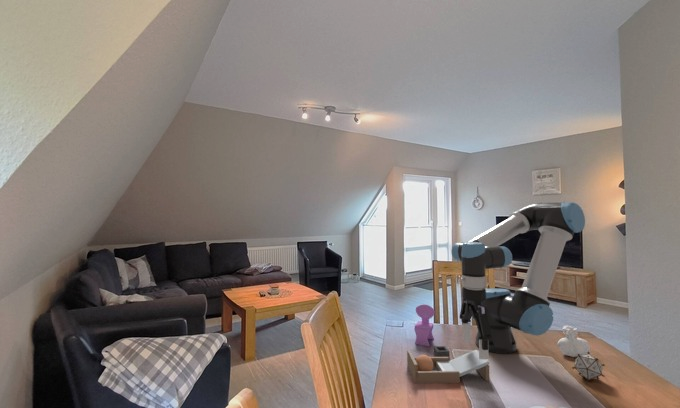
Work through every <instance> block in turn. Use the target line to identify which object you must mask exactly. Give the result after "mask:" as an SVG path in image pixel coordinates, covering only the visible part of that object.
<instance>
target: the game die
mask: <svg viewBox="0 0 680 408" xmlns="http://www.w3.org/2000/svg"><path fill="white" fill-rule="evenodd" d="M572 358H573V359H574V366H572V367H571V369H575V370H576V371H577V372H578V375H581V376H583V377H584V378H585V379H586V382H587V383H589V382H590V380H592V379H597V380H600V378H599V377H603V378H605V377H606V376H605V374H603V367H605V366H606V364H603V363H601V362H600V361H599V358H597V357H596V358H595V357H594V356H592V355H591V354H590V352H588V354H585V355H581V356H580V355H579V354H578V357H572Z"/></svg>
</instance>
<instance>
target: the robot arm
mask: <svg viewBox="0 0 680 408" xmlns="http://www.w3.org/2000/svg"><path fill="white" fill-rule="evenodd" d="M585 225H586V217H585V213H584V210H583V209H582V207H581V206H580V205H579V204H578V203H576V202H570V201H569V202H566V201H562V202H537V203H531V204H529V205H526V206H524V207H522V208H520V209H517V210H516V211H513V212H512V213H511V214H509V215H508V217H507V219H505V220H503V221H501V222H500V223H498V224H496V225H493V226H492V227H490V228H489V229H487V230H486V231H484V232H482V233H480V234H479V235H476V236H475V237H473V238H472V239H470V240H468V241H466V242H456V243H454V244H453V245H452V247H451V256H452V258H453V259H454V260H456V261H458V262H461V278H460V280H461V285H462V288H461V297H462V303H461V307H460V313H459V319H460V320H461V325H462V327H461V329H462V330H461V331H462V332H461V333H462V342H464V343H465V342H466V343H472V337H471V336H472V335H471V333H472V332H471V330H472V329H471V326H472V325H471V322H472V321H471V319H474V320H475V325H476V327H477V332H476V335H475V345H477V346H478V351H479V359H487V360H489V354H490V353H489V352H491V353H497V354H512V353H514V352H516V351H517V341H516V339H515V336H514V334H513V330H512V328H513V329H515V330H517V331H521V332H523V333H524V334H529V335H532V336H537V337H538V336H542V335H543V334H546V333H547V332H548V331H549V330H550V328H551V327H552V325H553V323H554V316H553V315H554V312H553V309H552V308H551V306H550V304H551V303H550V301H549V298H548V295H549V292H550V289H551V286H552V284H553V281H554V278H555V274H556V272H557V269H558V266H559V263H560V260H561V257H562V254H563V251H564V248H565V246H566V243H567V242H568V241H571V240H572V239H573V237H574V234H575V233H581V232H582V231H583V230H584V228H585ZM530 231H538V232H539V233H540V235H539V240H538V242H537V244H536V248H535V250H534V253H533V256H532V258H531V261H530V263H529V266H528V269H527V271H526V274H525V277H524V280H523V283H522V285H521V287H520V288H518V289H515V292H514V294H513V295H512V292H511V290H509V289H507V288H486V286H487V285H486V284H487V282H486V281H487V278H486V277H487V275H486V270H489V269H491V270H492V269H502V268H506V267H509V266H510V265H511V264H512V261H513V254H512V252H511V250H510V249H509V248H508V247H506V246H504V245H503V244H504V243H506V242H507V241H510V240H511V239H512V238H514V237H515V236H517V235H519V234H526V233H528V232H530ZM500 245H503V246H500Z"/></svg>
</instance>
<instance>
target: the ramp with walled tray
mask: <svg viewBox="0 0 680 408" xmlns="http://www.w3.org/2000/svg"><path fill="white" fill-rule="evenodd" d="M406 353H407V354H406V355H407V357H406V359H407V361H406V362H407V369H408V372H409V373H410V375H411V379H412V380H413V383H414V384H436V383H437V384H445V383H446V384H448V383H449V384H451V383H452V384H453V383H454V384H455V383H457V384H458V383H461V382H460V381H461V379H460V377H462V376H463V377H464V376H465V375H468V374H470V373H472V372H475V371H477V372H478V374H479V375H480V377H482V378H483V379H484V380H485V381H491V380H490V378H491V377H490V362H489V359H479V349H474V350H472V351H469V352H467V353H465V354H462V355H459V356H456V357H455V358H453V359H451V360H450V356H449V357H436V356H429V357H430V358H431V359H432V361H433V370H432V371H418V364H417V362H416V359H417V357H418V356H414V355H413V353H412V351H411V350H410V349H407V350H406Z"/></svg>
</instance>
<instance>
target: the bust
mask: <svg viewBox="0 0 680 408" xmlns="http://www.w3.org/2000/svg"><path fill="white" fill-rule="evenodd" d="M578 330H579V329H578V328H576V327H573V326H570V325H563V326H562V328H561V331H562V333H563V334H564V335H565V337H562V338H560V339H559V340H558V342H557V343H556V344H557V346H558V348H559V349H560V351H561V354H562V355H564V356H569V357H572V358H573V357H575V358H577V357H578V354H579V355H580V356H581V355H585V354H588V352H589V353H590V351H591V346H590V343H589V342H588V341H587V340H586V339H583V338H580V337H576V336H577V335H579V331H578Z"/></svg>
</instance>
